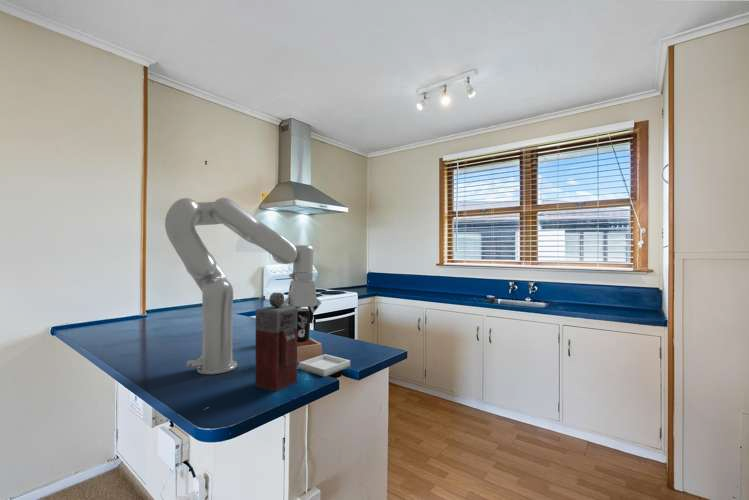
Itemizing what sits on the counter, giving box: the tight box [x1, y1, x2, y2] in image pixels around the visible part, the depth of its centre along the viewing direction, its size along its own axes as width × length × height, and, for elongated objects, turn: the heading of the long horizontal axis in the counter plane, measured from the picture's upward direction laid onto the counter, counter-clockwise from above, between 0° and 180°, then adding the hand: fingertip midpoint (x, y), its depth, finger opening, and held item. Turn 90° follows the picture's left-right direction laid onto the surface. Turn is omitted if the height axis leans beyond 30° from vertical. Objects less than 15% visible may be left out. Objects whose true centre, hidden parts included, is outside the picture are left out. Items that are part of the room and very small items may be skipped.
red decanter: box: [254, 292, 298, 392], centre depth 105 cm, size 9×11×28 cm
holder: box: [297, 337, 323, 364], centre depth 133 cm, size 11×11×6 cm
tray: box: [298, 353, 351, 378], centre depth 120 cm, size 13×13×2 cm
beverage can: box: [297, 307, 311, 342], centre depth 133 cm, size 7×7×12 cm
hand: (301, 322), depth 133 cm, fingers closed on beverage can, 6 cm apart
